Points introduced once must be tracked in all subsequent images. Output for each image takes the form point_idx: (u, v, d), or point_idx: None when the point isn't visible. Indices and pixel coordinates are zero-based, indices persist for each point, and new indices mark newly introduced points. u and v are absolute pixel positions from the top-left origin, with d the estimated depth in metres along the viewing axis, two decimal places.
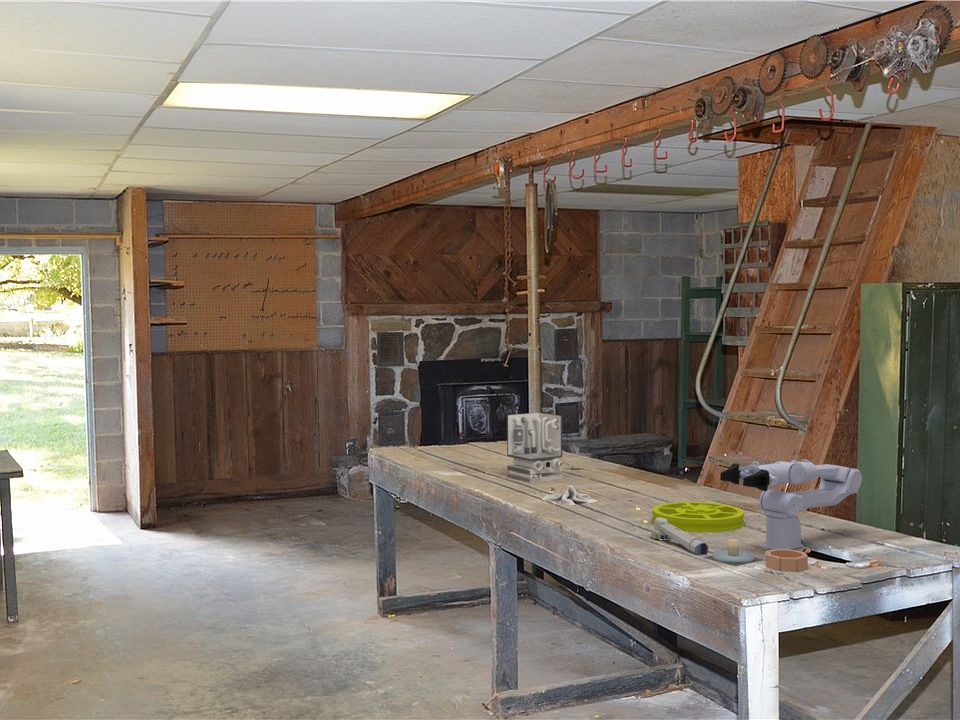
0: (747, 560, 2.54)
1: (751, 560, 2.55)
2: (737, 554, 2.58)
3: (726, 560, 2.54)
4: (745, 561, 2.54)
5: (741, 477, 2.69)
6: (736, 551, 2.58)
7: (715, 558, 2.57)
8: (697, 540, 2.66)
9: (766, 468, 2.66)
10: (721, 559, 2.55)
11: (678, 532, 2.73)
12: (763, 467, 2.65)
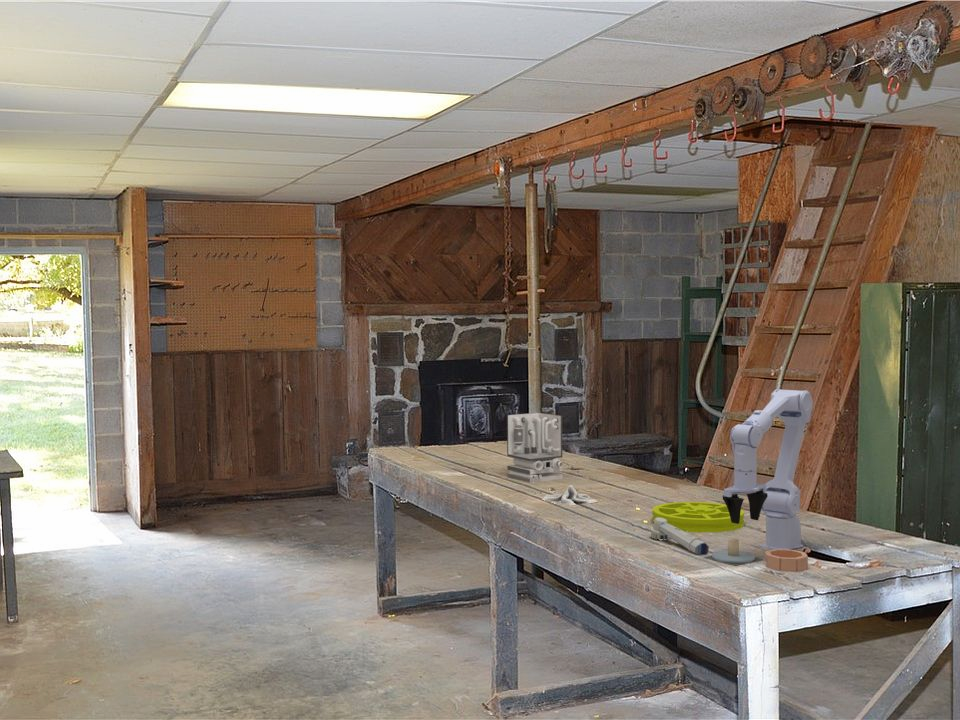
0: (747, 560, 2.54)
1: (751, 560, 2.55)
2: (737, 554, 2.58)
3: (726, 560, 2.54)
4: (745, 561, 2.54)
5: None
6: (736, 551, 2.58)
7: (715, 558, 2.57)
8: (697, 540, 2.66)
9: (756, 478, 2.58)
10: (721, 559, 2.55)
11: (678, 532, 2.73)
12: (756, 481, 2.58)
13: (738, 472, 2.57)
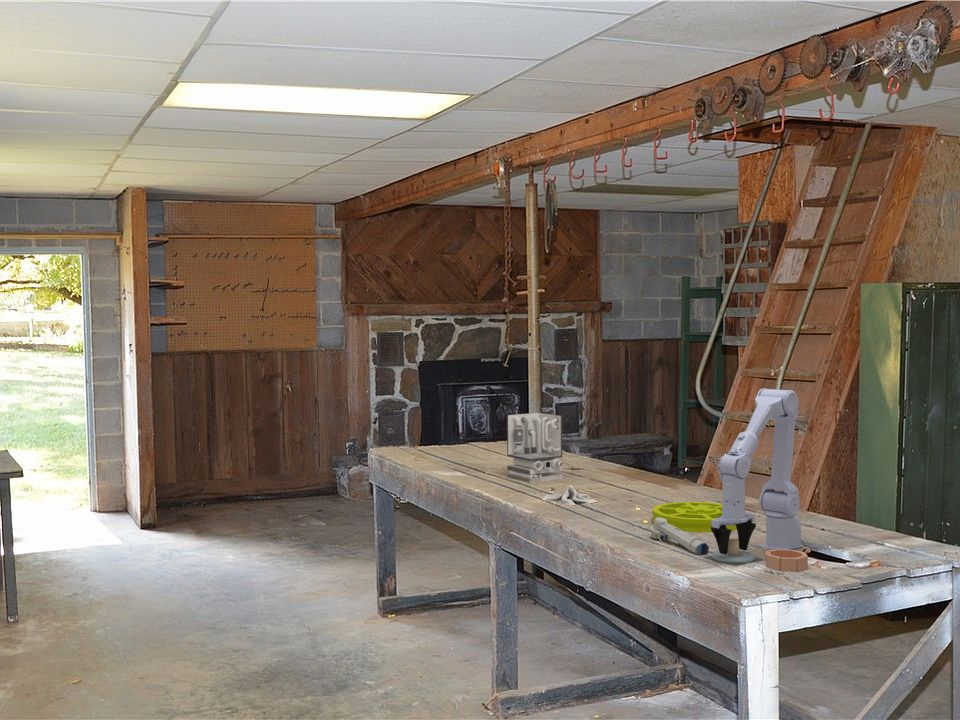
0: (747, 560, 2.54)
1: (751, 560, 2.55)
2: (737, 554, 2.58)
3: (726, 560, 2.54)
4: (745, 561, 2.54)
5: None
6: (736, 551, 2.58)
7: (715, 558, 2.57)
8: (697, 540, 2.66)
9: (744, 509, 2.58)
10: (721, 559, 2.55)
11: (678, 532, 2.73)
12: (744, 512, 2.57)
13: (726, 503, 2.57)
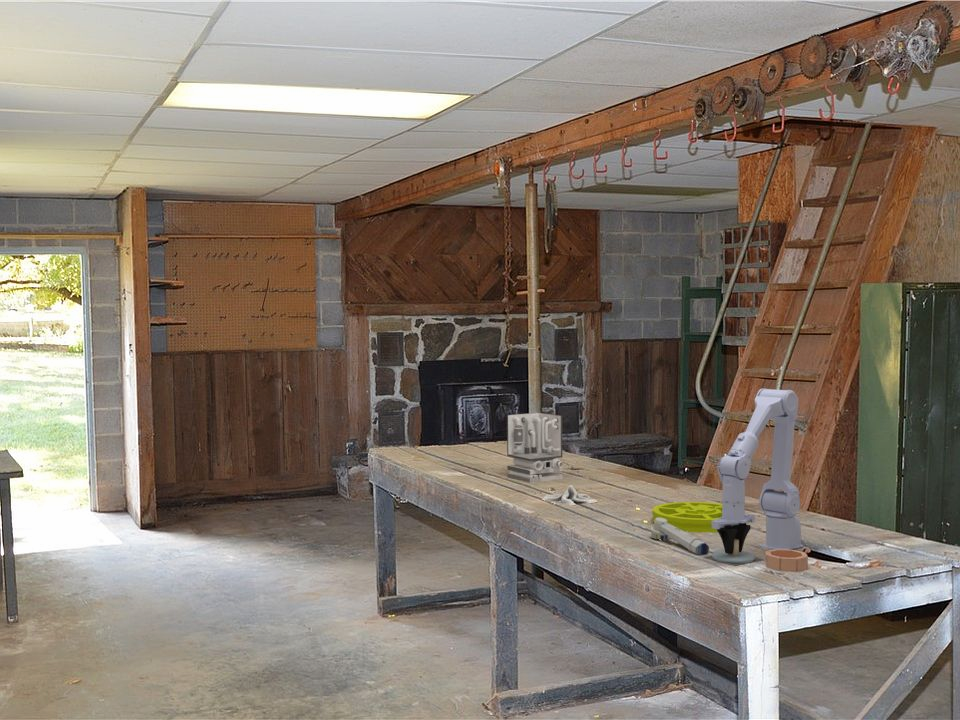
0: (747, 560, 2.54)
1: (751, 560, 2.55)
2: (737, 554, 2.58)
3: (726, 560, 2.54)
4: (745, 561, 2.54)
5: None
6: (736, 551, 2.58)
7: (715, 558, 2.57)
8: (698, 540, 2.66)
9: (744, 510, 2.58)
10: (721, 559, 2.55)
11: (678, 532, 2.73)
12: (744, 513, 2.57)
13: (726, 504, 2.57)
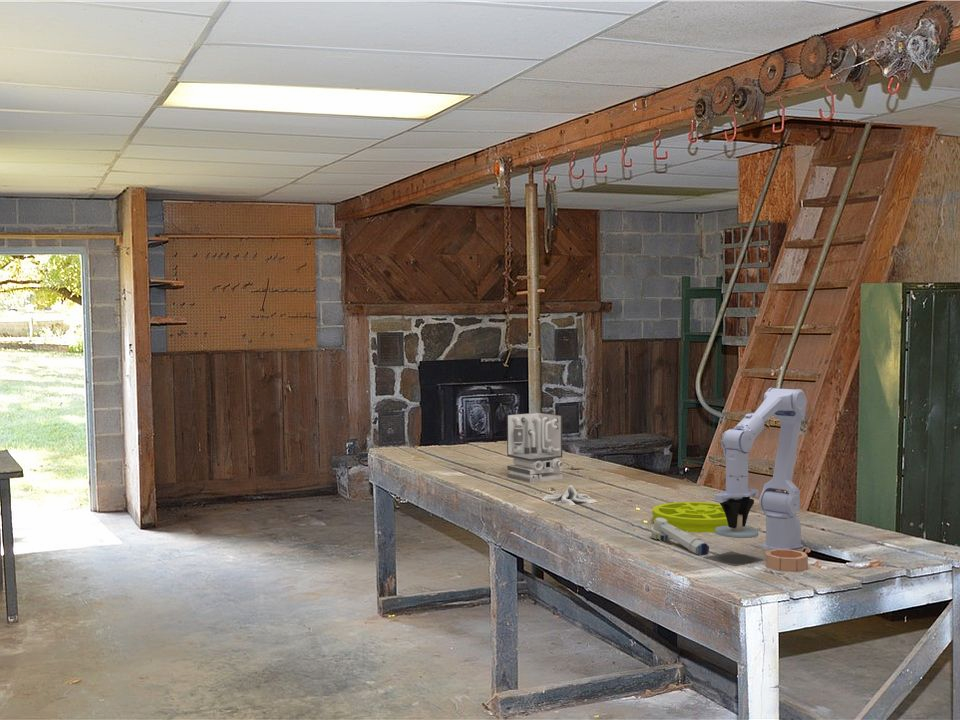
0: (750, 535, 2.53)
1: (754, 535, 2.54)
2: (740, 529, 2.57)
3: (729, 534, 2.54)
4: (748, 535, 2.53)
5: None
6: (739, 526, 2.57)
7: (718, 532, 2.56)
8: (698, 540, 2.66)
9: None
10: (724, 533, 2.55)
11: (678, 532, 2.73)
12: (747, 487, 2.56)
13: (729, 477, 2.56)
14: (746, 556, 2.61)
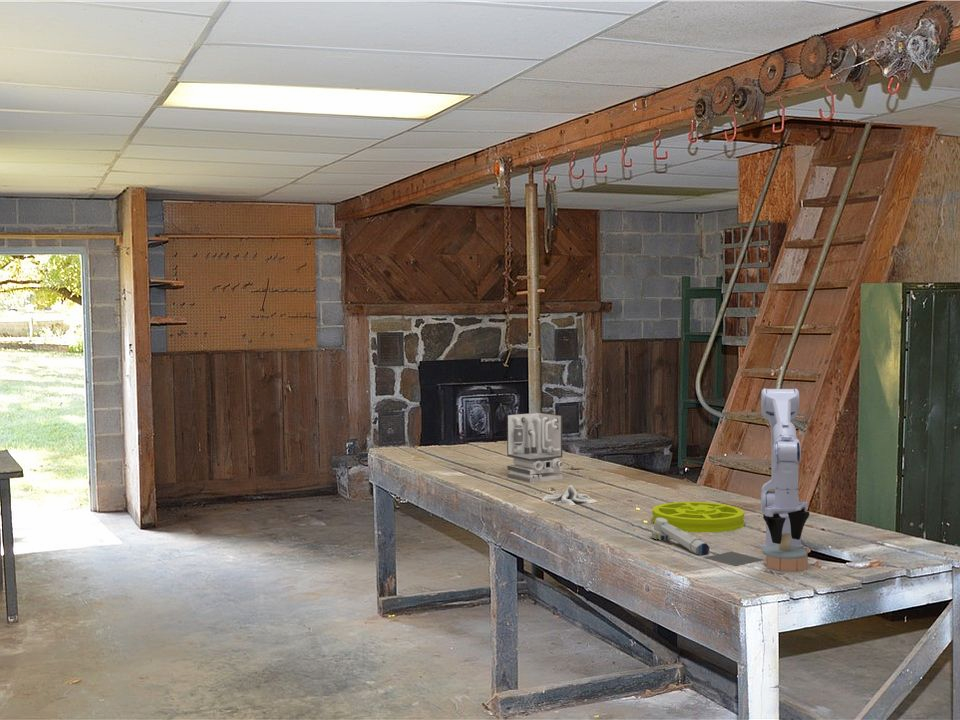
0: (801, 555, 2.47)
1: (804, 555, 2.48)
2: (789, 549, 2.50)
3: (779, 555, 2.47)
4: (799, 556, 2.46)
5: None
6: (788, 546, 2.50)
7: (767, 553, 2.49)
8: (698, 540, 2.65)
9: (798, 497, 2.49)
10: (774, 554, 2.47)
11: (679, 532, 2.73)
12: (797, 500, 2.49)
13: (779, 490, 2.49)
14: (746, 556, 2.61)
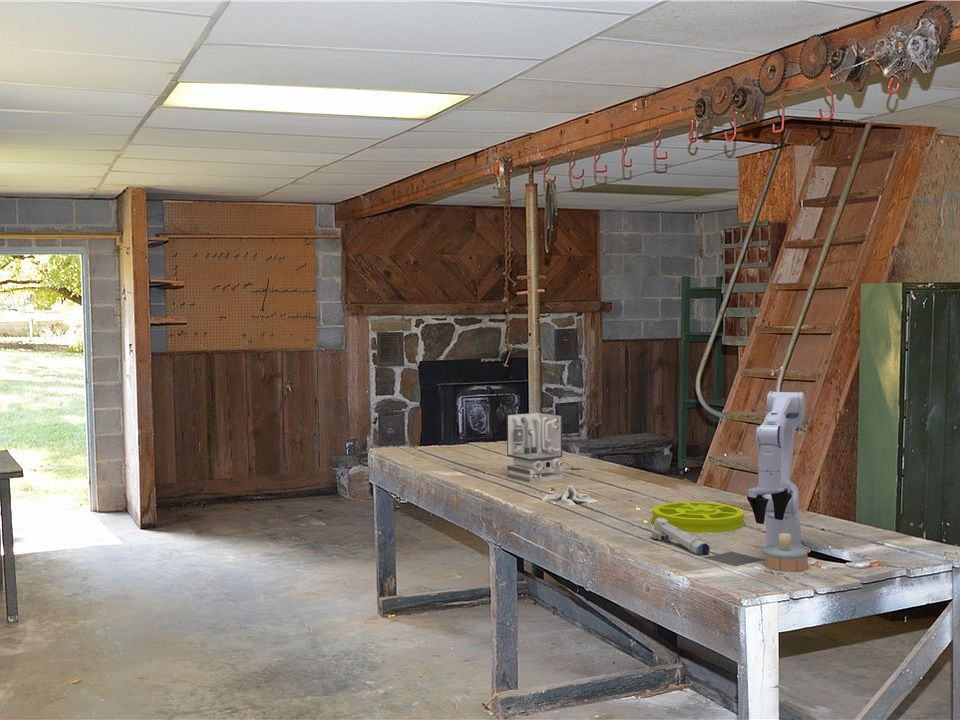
0: (801, 555, 2.47)
1: (804, 555, 2.48)
2: (789, 549, 2.50)
3: (779, 555, 2.47)
4: (799, 556, 2.46)
5: None
6: (788, 546, 2.50)
7: (767, 553, 2.49)
8: (698, 540, 2.65)
9: (780, 478, 2.57)
10: (774, 554, 2.47)
11: (679, 532, 2.73)
12: (780, 482, 2.57)
13: (762, 472, 2.56)
14: (746, 556, 2.61)
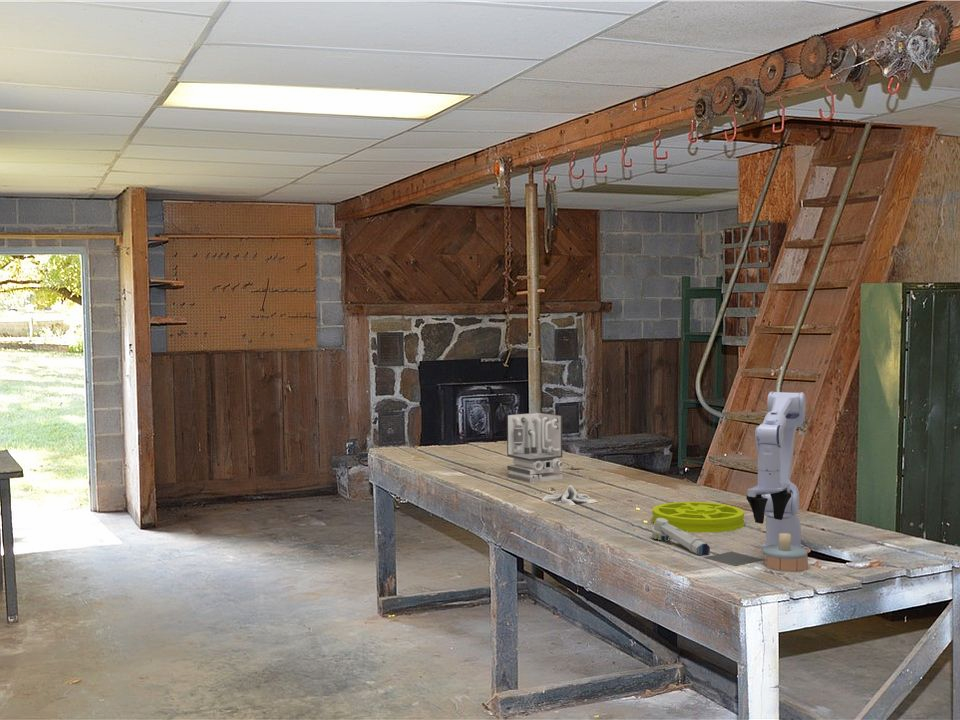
0: (801, 555, 2.47)
1: (804, 555, 2.48)
2: (789, 549, 2.50)
3: (779, 555, 2.47)
4: (799, 556, 2.46)
5: None
6: (788, 546, 2.50)
7: (767, 553, 2.49)
8: (699, 541, 2.65)
9: (780, 478, 2.57)
10: (774, 554, 2.47)
11: (679, 533, 2.73)
12: (779, 481, 2.57)
13: (762, 472, 2.57)
14: (746, 556, 2.61)
